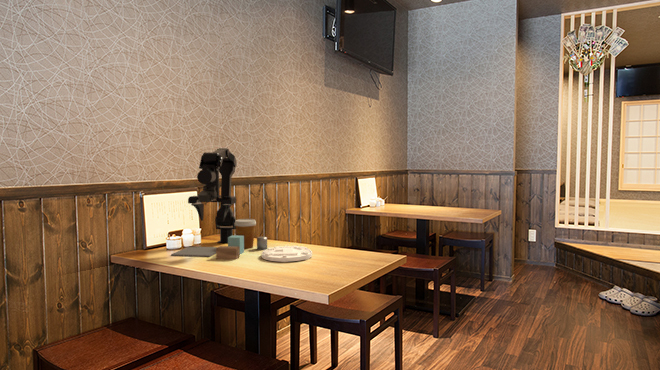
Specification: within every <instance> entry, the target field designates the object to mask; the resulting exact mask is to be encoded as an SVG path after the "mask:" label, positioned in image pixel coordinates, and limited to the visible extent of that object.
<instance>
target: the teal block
mask: <svg viewBox="0 0 660 370" xmlns="http://www.w3.org/2000/svg"><path fill="white" fill-rule="evenodd" d="M227 246H235V247H239V256H241V255H242V254H244V253H245V249H244V236H239V235H237V234H236V235H235V234H234V235H232V236H230V237H228V243H227ZM240 254H241V255H240Z"/></svg>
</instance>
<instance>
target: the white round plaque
mask: <svg viewBox="0 0 660 370" xmlns="http://www.w3.org/2000/svg"><path fill="white" fill-rule="evenodd" d="M312 256H313V251H312V250H311V248H309V247H306V246H302V245H300V246H298V245H291V246H290V245H283V246H281V245H277V246H276V245H275V246H273V247H270V246H269V247H267V249H266V250H261V258H262V259H264V260H266V261H271V262H280V263H281V262H282V263H288V262H296V261H297V262H299V261H306V260H310V258H311V257H312Z"/></svg>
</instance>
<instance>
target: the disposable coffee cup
mask: <svg viewBox="0 0 660 370" xmlns="http://www.w3.org/2000/svg"><path fill="white" fill-rule="evenodd" d="M234 224H235V227H236V229H235V233H236V235H239V236H244V250H248V249H253V248H254V242H255V241H254V240H255V233H256V232H255V231H256V225H257V222H256V219H254V218H240V219H236V220H235V223H234Z"/></svg>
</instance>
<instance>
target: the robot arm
mask: <svg viewBox="0 0 660 370" xmlns="http://www.w3.org/2000/svg"><path fill="white" fill-rule="evenodd" d="M237 163H238V162H237V159H236V156H235V155H234V154H233V153H232V152H231V151H230V149H229V148H226V147H225V148H224V147H223V148H219V147H218V148H217V149H216V150H214V151H212V152H203V153H202V155H201V157H200V161H199V167H198V169H199V171H198V173H197V176H196V177H197V180H198V182H199V183H200V184H202V185H203V187H202V190H201V191H200V192H199V193H198V194H197V195H193V196H189V197H188V198H187V203H188V204H190V206H192V207H194V208H195V210H196V211H197V213H198V217H199V219H200V222H202V221H204V211H205V209H204V208H205V206H204V205H205V203H206V204H207V203H220V207H219V209H218V210H217V211H216V216H215V218H214V222H215V223H214V224H215V229H216V230H219V240H218V241H217V243H218V244H220V243H221V244H228V237H230V236H232V235H233V233H234V232H233V230H236V227H235V224H234V223H235V220H237V219H236V218H235V217H236V216H235V212H234V211H233V209H232V207H231V206H233V205H234V204H237V198H236V197H235V196H233V195H232V177H233V175H234V173H235V172H236V167H238V166H237ZM220 176H221V177H220ZM220 178H221V181H220ZM220 183H221V184H220Z"/></svg>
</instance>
